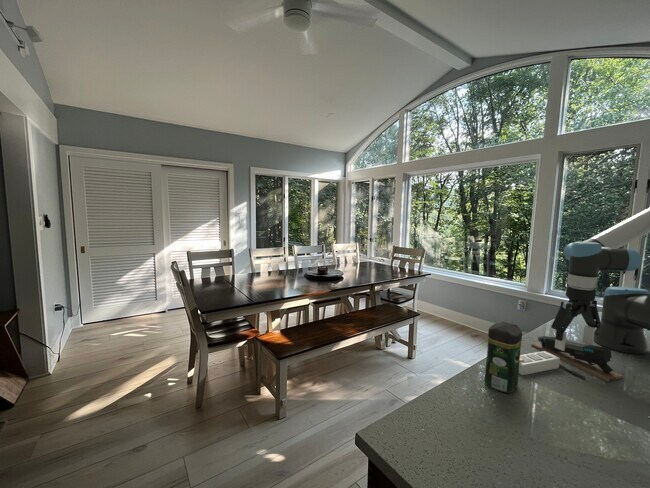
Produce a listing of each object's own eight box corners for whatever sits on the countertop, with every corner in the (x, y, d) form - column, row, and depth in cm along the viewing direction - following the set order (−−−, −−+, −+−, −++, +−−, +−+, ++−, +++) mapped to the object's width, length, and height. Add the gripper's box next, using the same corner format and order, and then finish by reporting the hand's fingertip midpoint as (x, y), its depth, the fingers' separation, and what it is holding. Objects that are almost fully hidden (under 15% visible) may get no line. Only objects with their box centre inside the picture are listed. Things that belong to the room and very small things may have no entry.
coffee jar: (491, 372, 92) (496, 317, 90) (520, 384, 86) (526, 325, 84) (479, 384, 86) (484, 325, 84) (510, 398, 80) (516, 334, 78)
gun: (609, 375, 90) (600, 341, 92) (543, 364, 108) (536, 337, 110) (617, 372, 91) (608, 339, 93) (551, 362, 109) (544, 335, 111)
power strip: (547, 359, 101) (549, 348, 100) (587, 378, 90) (588, 366, 89) (508, 366, 96) (509, 355, 95) (544, 388, 84) (545, 375, 84)
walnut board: (544, 343, 113) (545, 341, 113) (621, 377, 90) (622, 375, 90) (531, 345, 111) (531, 343, 111) (606, 381, 88) (607, 378, 88)
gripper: (593, 282, 105) (586, 337, 107) (542, 286, 98) (536, 345, 100) (619, 287, 98) (611, 347, 100) (566, 292, 91) (559, 356, 93)
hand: (573, 346), depth 100 cm, fingers open, 13 cm apart
